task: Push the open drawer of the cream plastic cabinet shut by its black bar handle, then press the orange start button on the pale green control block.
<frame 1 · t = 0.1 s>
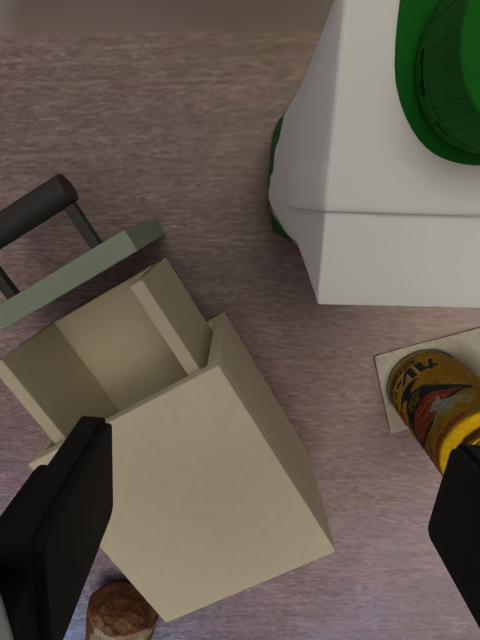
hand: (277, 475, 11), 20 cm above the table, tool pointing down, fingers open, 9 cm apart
condiment: (433, 380, 32), on the table
drawer: (107, 332, 25), point 5 cm above the table, slide at 7.0 cm
milk carton: (325, 179, 27), on the table
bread: (126, 635, 41), on the table
cabinet: (202, 421, 33), on the table
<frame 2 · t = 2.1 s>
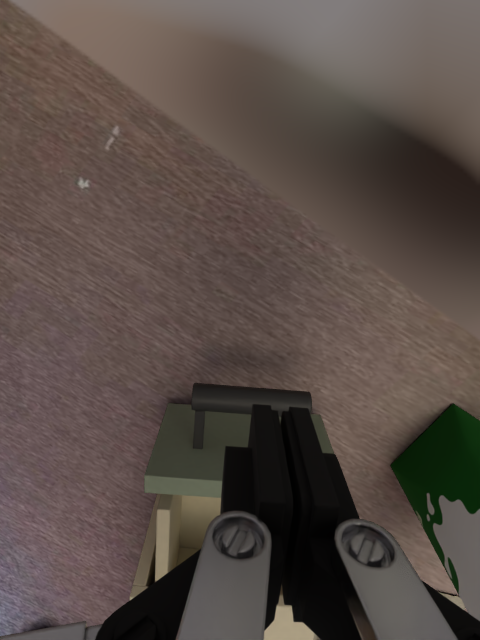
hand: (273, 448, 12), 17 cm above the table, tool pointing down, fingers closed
drawer: (239, 497, 27), point 5 cm above the table, slide at 7.0 cm
milk carton: (449, 455, 32), on the table
cabinet: (228, 554, 35), on the table
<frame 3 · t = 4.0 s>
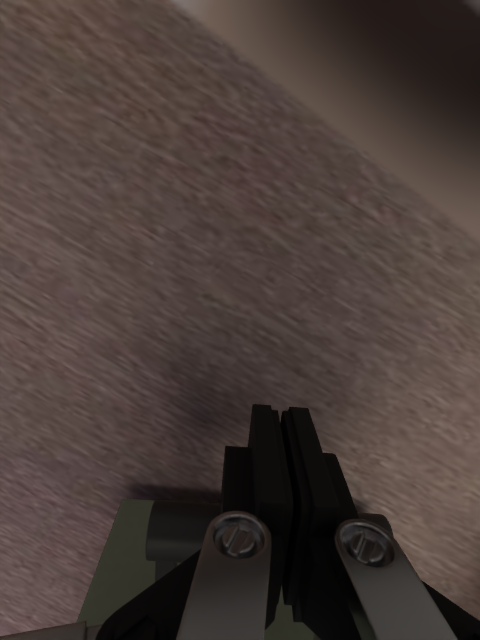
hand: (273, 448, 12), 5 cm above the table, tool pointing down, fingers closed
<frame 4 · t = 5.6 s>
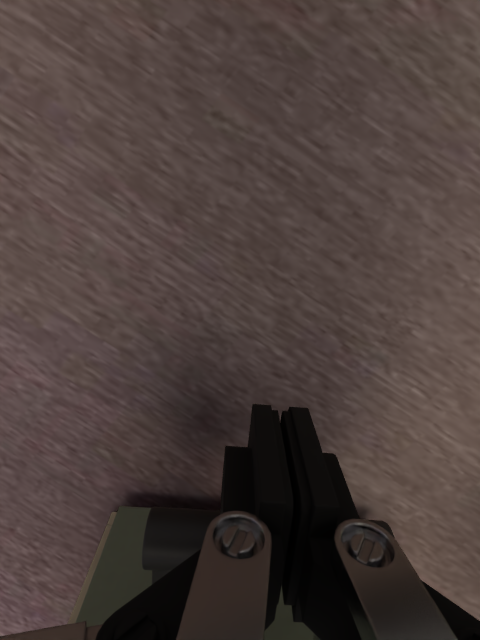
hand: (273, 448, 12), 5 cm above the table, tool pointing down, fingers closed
cabinet: (235, 631, 21), on the table
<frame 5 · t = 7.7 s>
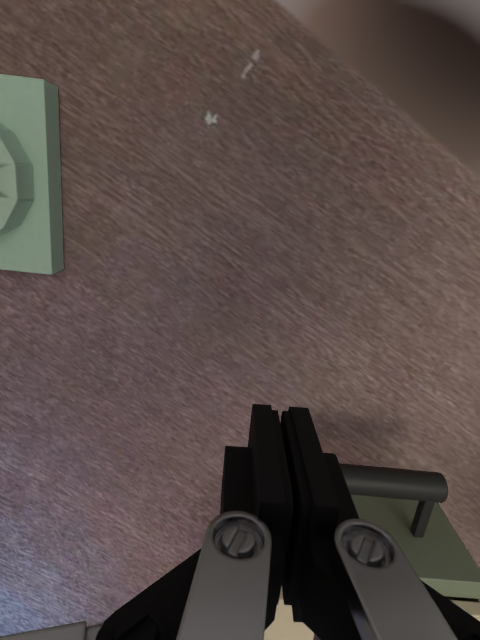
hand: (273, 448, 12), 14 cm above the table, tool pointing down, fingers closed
drawer: (348, 571, 26), point 5 cm above the table, slide at 0.0 cm
cabinet: (323, 552, 32), on the table
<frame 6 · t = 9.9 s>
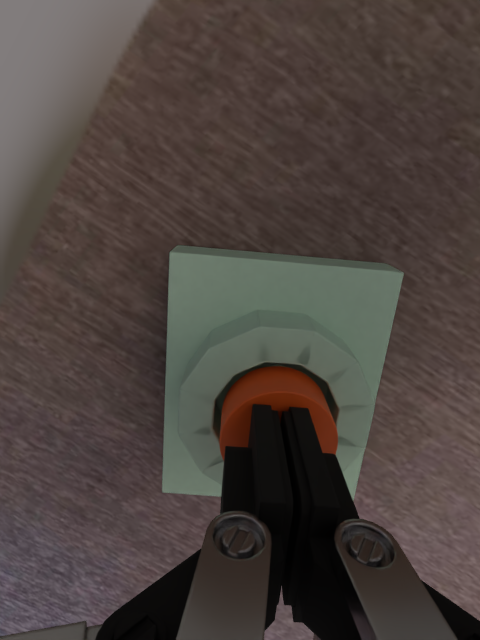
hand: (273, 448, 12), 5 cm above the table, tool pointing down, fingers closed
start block: (268, 373, 17), on the table
start button: (276, 427, 13), point 4 cm above the table, slide at 0.1 cm, touching gripper
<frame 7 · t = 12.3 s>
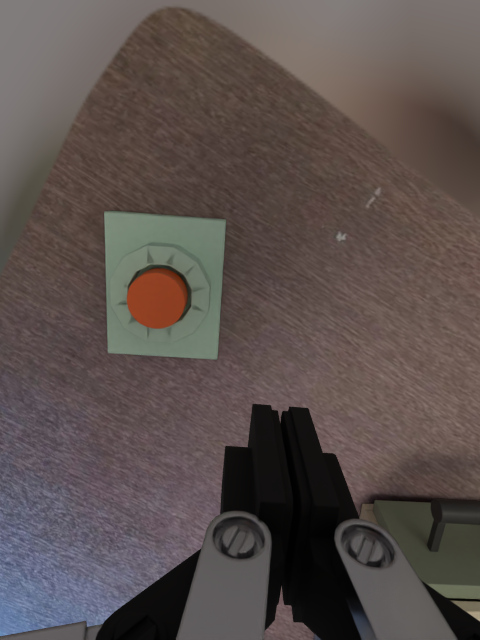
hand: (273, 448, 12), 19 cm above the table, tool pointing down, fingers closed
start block: (167, 284, 29), on the table
start button: (158, 298, 25), point 4 cm above the table, slide at 0.1 cm
drawer: (450, 584, 32), point 5 cm above the table, slide at 0.0 cm
cabinet: (414, 568, 38), on the table
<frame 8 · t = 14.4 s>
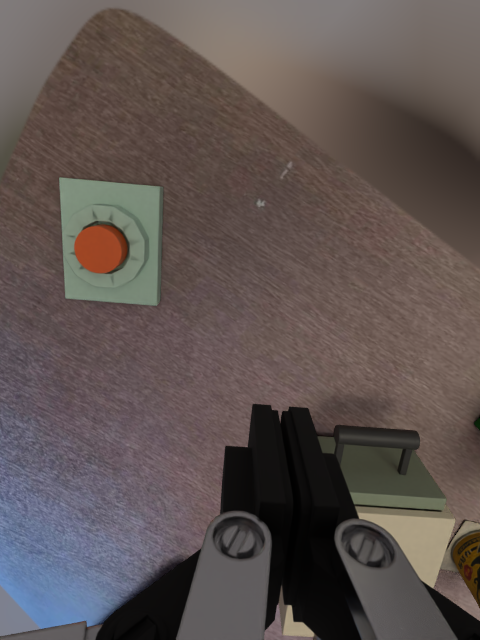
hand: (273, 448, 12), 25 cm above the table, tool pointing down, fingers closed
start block: (116, 242, 35), on the table
start button: (101, 248, 31), point 4 cm above the table, slide at 0.1 cm
drawer: (356, 503, 38), point 5 cm above the table, slide at 0.0 cm
cabinet: (337, 499, 44), on the table
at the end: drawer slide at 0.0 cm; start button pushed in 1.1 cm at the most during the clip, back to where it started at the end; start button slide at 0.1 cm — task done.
